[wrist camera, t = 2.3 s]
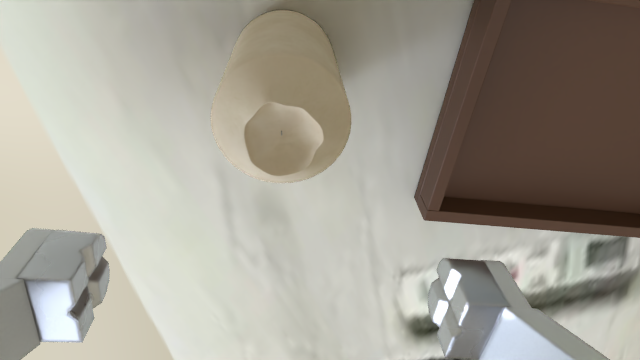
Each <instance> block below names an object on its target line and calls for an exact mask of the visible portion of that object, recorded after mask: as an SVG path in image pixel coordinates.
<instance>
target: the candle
mask: <svg viewBox="0 0 640 360" xmlns="http://www.w3.org/2000/svg"><path fill="white" fill-rule="evenodd" d="M211 126H212V131H213V135H214V138H215V141H216V143H217V145H218V147H219V149H220V150H221V152H222V153H223V155H224V156H225V157H226V158H227V159H228V161H229V162H230V163H232V164H233V165H234V166H235V167H236V168H237V169H239V170H240V171H242V172H243V173H245V174H247V175H249V176H251V177H254V178H256V179H259V180H262V181H266V182H272V183H293V182H298V181H302V180H306V179H309V178H311V177H313V176H316V175H317V174H319V173H321V172H323V171H324V170H325V169H327V168H328V167H329V166H330V165H331V164H332V163H333V162H334V161H335V160H336V159H337V158H338V157H339V155H340V154H341V153H342V151H343V149H344V147H345V145H346V143H347V141H348V138H349V134H350V129H351V112H350V106H349V102H348V99H347V96H346V92H345V89H344V86H343V82H342V79H341V76H340V72H339V69H338V66H337V62H336V59H335V56H334V53H333V49H332V46H331V44H330V41H329V39H328V37H327V35H326V34H325V32H324V31H323V30H322V28H321V27H320V26H319V25H318V24H317V23H316V22H314V21H313V20H312V19H310V18H309V17H307V16H305V15H303V14H300V13H298V12H294V11H289V10H276V11H271V12H268V13H265V14H262V15H260V16H258V17H257V18H255V19H254V20H252V21H251V22H250V23H249V24H248V25H247V26H246V27H245V28H244V29H243V31H242V32H241V34H240V36H239V37H238V40H237V42H236V44H235V47H234V49H233V52H232V54H231V57H230V59H229V62H228V64H227V67H226V69H225V72H224V74H223V77H222V79H221V82H220V84H219V87H218V90H217V92H216V95H215V97H214V100H213V104H212V109H211Z"/></svg>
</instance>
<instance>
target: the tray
mask: <svg viewBox="0 0 640 360" xmlns="http://www.w3.org/2000/svg"><path fill="white" fill-rule="evenodd" d="M414 198H415V200H416V202H417V205H418V207H419V210H420V212H421V214H422V217H423V219H424V220H428V221H440V222H452V223H465V224H477V225H490V226H502V227H514V228H527V229H539V230H551V231H564V232H576V233H589V234H601V235H613V236H626V237H638V238H640V0H474V3H473V7H472V10H471V13H470V16H469V20H468V23H467V26H466V30H465V33H464V36H463V39H462V43H461V46H460V49H459V52H458V56H457V59H456V62H455V66H454V69H453V72H452V75H451V79H450V82H449V85H448V89H447V92H446V95H445V98H444V102H443V105H442V108H441V112H440V115H439V118H438V121H437V125H436V128H435V131H434V135H433V138H432V141H431V144H430V148H429V151H428V154H427V158H426V161H425V164H424V167H423V171H422V174H421V177H420V181H419V184H418V187H417V190H416V194H415V197H414Z"/></svg>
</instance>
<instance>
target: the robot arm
mask: <svg viewBox="0 0 640 360" xmlns="http://www.w3.org/2000/svg"><path fill="white" fill-rule="evenodd" d="M105 250H106V242H105V237H104V236H103V235H102V234H97V233H86V232H75V231H65V230H50V229H39V228H32V229H30V230H27V231H26V232H25V233H24V234H23V236H22V237H21V238H20V239H19V240H18V242H17V243H16V244H15V245H14V246H13V247H12V249H11V250H10V251H9V252H8V254H7V255H6V256H5V257H4V258H3V260H2V261H1V262H0V360H21V359H22V358H23V357H25V356H26V355H27V354H28V353H30V352H31V351H32V350H33V349H35V348H36V347H37V346H38V345H40V342H83V340H84V338H85V336H86V334H87V332H88V330H89V328H90V326H91V324H92V322H93V320H94V314H93V308H95V307H96V306H97V305H99V304H100V303H102V301H103V299H104V296H105V294H106V291H107V287H108V283H109V263H108V262H107V261H106V260H105V259H104V258H103V257H102V255H103V253H104V252H105ZM437 273H438V275H439V278H438V279H436V280H435V281H434V282H432V283H431V287H430V290H429V293H428V308H429V313H430V316H431V319H432V321H433V322H434V323H436V324H437V325H438V326H439V327H440V328H439V331H438V333H437V336H438V339H439V342H440V345H441V347H442V350H443V353H444V356H445V358H459V359H474V360H610V359H608V358H607V357H605V356H604V355H603V354H601V353H600V352H598V351H597V350H595V349H594V348H593V347H591V346H590V345H588V344H587V343H585V342H584V341H583V340H581V339H580V338H578V337H577V336H575V335H574V334H573V333H571V332H570V331H568V330H567V329H566V328H564V327H563V326H561V325H560V324H558V323H557V322H556V321H554V320H553V319H551V318H550V317H548V316H547V315H546V314H544V313H543V312H541V311H540V310H538V309H532V308H531V306H530V305H529V303H528V302H527V300H526V298H525V297H524V295H523V294H522V292H521V290H520V289H519V287H518V286H517V284H516V282H515V281H514V279H513V277H512V276H511V274H510V273H509V271H508V269H507V268H506V266H505V265H504V264H503V263H502V262H500V261H487V260H481V261H478V260H463V259H447V258H443V259H442V260H441V261H440V262H439V265H438V267H437Z"/></svg>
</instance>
